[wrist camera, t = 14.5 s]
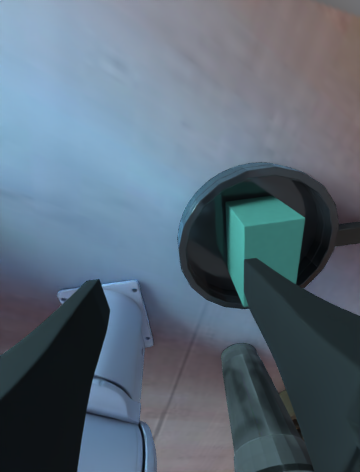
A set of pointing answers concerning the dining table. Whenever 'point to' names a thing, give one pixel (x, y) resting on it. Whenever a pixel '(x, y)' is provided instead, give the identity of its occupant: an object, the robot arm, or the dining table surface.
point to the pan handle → (348, 234)
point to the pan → (214, 225)
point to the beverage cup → (259, 417)
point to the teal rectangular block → (262, 238)
